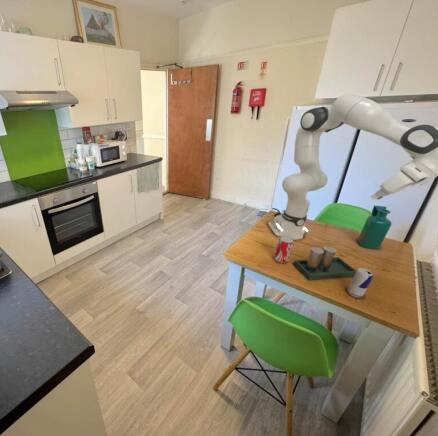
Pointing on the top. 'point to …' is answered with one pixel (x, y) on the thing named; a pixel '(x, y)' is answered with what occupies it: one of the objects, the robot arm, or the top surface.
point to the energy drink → (360, 282)
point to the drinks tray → (335, 270)
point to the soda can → (283, 249)
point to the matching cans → (320, 259)
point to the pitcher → (375, 228)
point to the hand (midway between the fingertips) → (374, 198)
